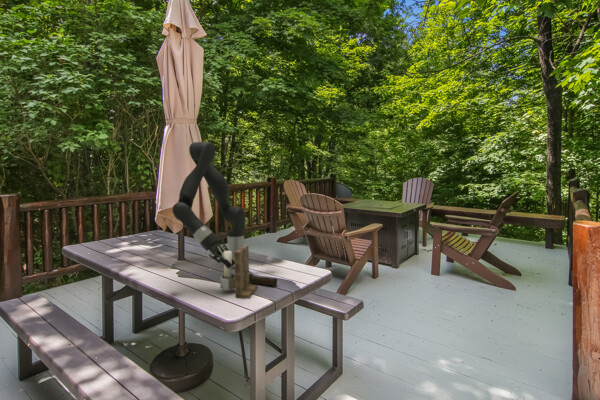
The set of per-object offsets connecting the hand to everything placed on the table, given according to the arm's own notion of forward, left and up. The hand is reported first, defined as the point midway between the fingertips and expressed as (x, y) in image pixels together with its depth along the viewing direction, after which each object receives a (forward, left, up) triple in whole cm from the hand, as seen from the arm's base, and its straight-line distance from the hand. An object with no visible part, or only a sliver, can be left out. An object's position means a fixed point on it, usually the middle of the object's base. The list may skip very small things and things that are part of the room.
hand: (232, 265), depth 151 cm
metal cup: (0, -1, -10) cm, 10 cm away
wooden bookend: (0, +7, -12) cm, 14 cm away
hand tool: (-11, +8, -13) cm, 19 cm away
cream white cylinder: (0, -2, -6) cm, 6 cm away
